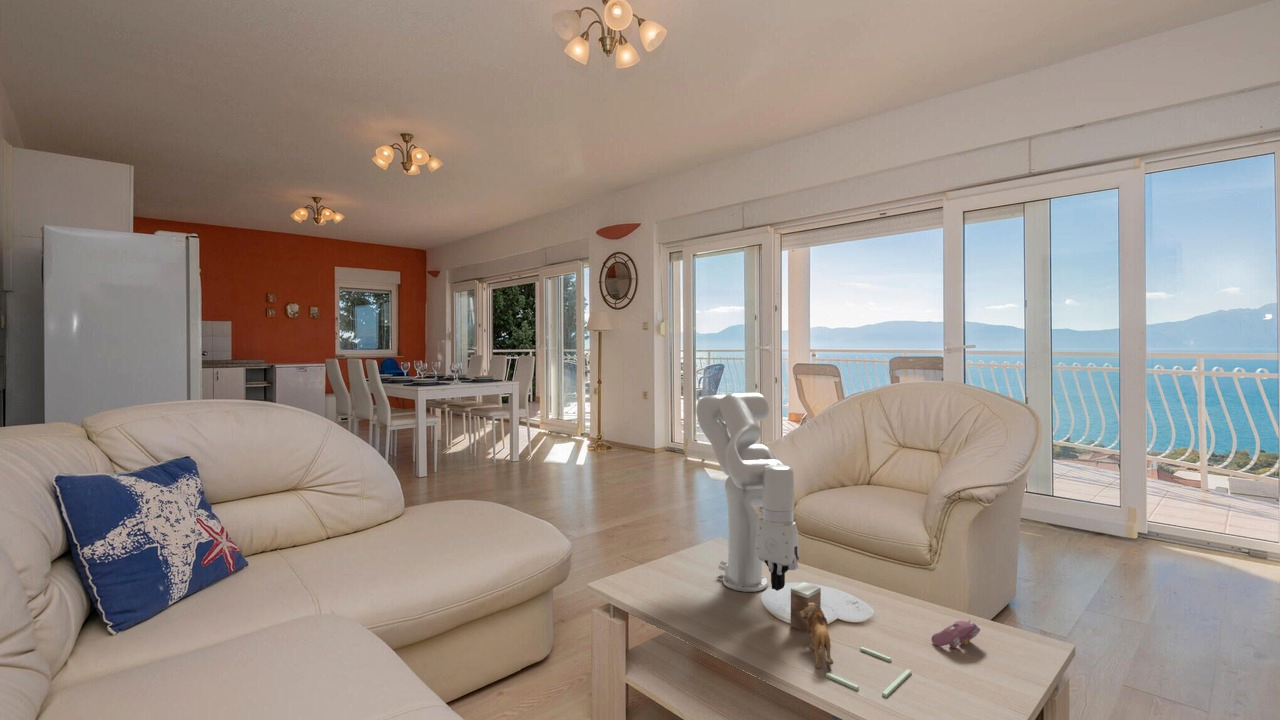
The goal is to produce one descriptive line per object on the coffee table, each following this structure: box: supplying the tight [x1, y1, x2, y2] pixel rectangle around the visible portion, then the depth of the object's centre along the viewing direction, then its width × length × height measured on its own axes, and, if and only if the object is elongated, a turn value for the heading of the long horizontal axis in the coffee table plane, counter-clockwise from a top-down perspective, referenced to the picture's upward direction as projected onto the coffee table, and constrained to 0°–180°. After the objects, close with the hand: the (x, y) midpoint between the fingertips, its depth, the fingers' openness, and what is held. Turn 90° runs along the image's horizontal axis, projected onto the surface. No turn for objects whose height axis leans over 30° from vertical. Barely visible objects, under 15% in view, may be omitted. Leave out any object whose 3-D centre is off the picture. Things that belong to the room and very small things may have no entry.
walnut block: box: [790, 581, 822, 633], centre depth 139 cm, size 4×6×9 cm
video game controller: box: [931, 619, 981, 649], centre depth 130 cm, size 10×5×7 cm, turn 114°
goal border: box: [825, 646, 912, 698], centre depth 118 cm, size 11×16×1 cm
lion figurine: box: [800, 603, 834, 672], centre depth 125 cm, size 15×5×9 cm, turn 0°
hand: (777, 588), depth 145 cm, fingers closed
